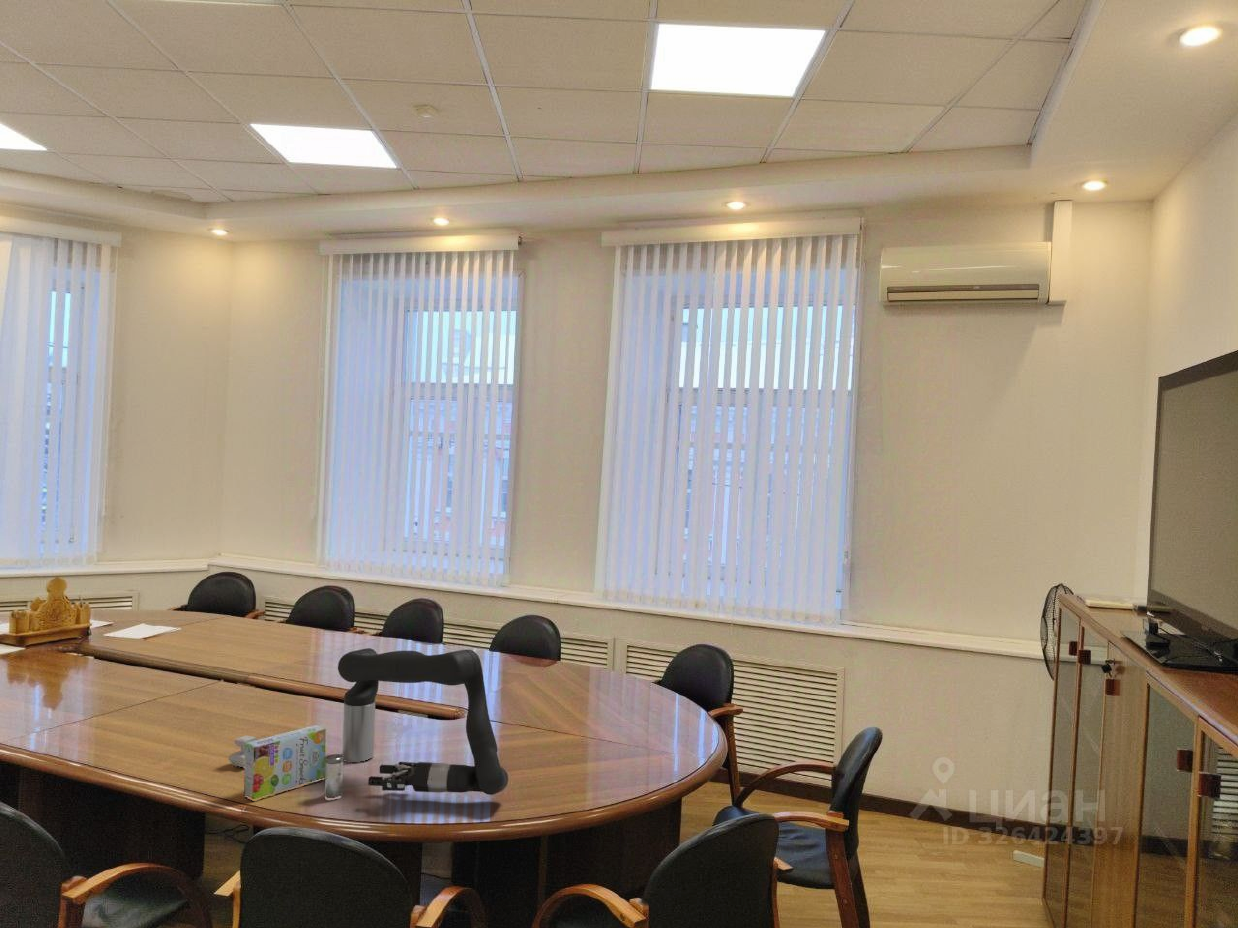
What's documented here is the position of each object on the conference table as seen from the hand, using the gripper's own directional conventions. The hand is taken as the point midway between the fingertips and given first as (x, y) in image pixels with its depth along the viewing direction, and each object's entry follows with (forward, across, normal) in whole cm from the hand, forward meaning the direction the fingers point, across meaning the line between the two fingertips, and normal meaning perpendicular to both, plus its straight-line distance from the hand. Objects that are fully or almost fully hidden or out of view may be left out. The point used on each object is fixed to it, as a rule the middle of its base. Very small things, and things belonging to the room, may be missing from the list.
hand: (374, 774), depth 222 cm
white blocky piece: (+46, -18, +6) cm, 50 cm away
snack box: (+27, -4, +7) cm, 28 cm away
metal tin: (+11, 0, +7) cm, 13 cm away
